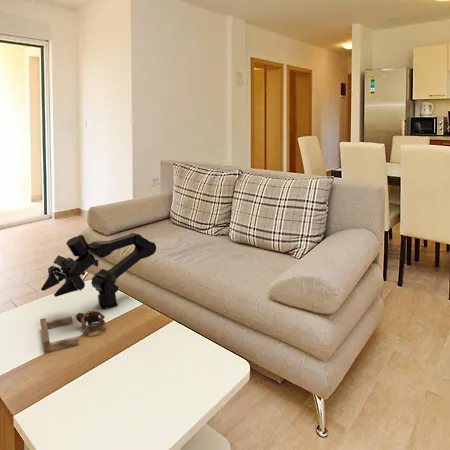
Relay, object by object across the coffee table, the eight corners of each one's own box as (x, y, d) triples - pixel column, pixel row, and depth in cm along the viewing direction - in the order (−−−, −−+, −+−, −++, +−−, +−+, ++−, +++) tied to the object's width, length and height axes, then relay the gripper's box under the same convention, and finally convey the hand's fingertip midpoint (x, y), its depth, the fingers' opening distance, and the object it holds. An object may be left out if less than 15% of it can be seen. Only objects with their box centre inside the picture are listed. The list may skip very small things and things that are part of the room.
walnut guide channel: (72, 322, 163) (70, 312, 162) (78, 344, 146) (77, 334, 145) (41, 328, 158) (39, 319, 157) (44, 353, 142) (43, 342, 141)
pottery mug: (111, 323, 162) (109, 311, 156) (99, 344, 155) (97, 332, 149) (82, 314, 163) (79, 302, 157) (69, 335, 156) (66, 322, 151)
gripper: (57, 245, 165) (24, 271, 156) (84, 253, 154) (49, 282, 145) (71, 266, 171) (39, 292, 162) (98, 276, 160) (65, 305, 151)
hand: (48, 292), depth 155 cm, fingers open, 9 cm apart
